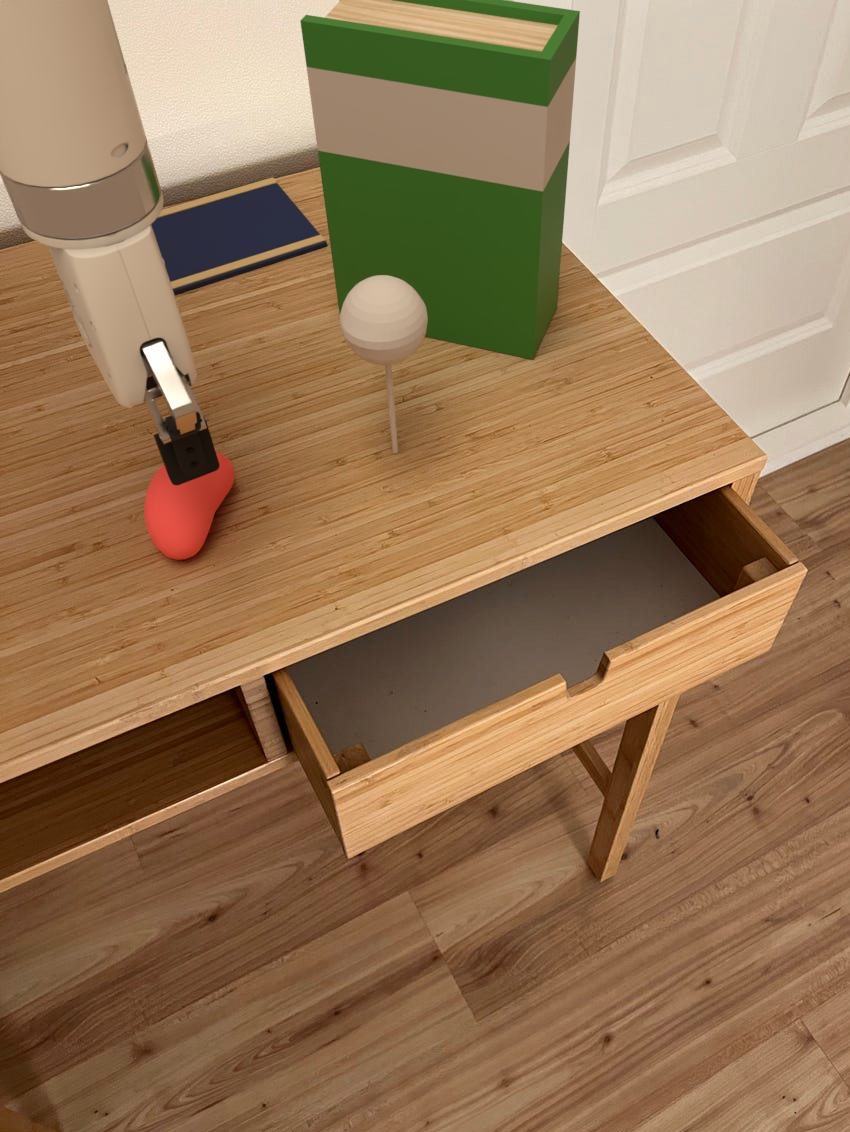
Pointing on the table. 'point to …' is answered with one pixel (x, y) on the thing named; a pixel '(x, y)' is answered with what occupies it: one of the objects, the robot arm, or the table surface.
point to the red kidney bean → (185, 509)
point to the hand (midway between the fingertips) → (169, 430)
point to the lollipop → (384, 327)
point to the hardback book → (448, 156)
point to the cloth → (231, 234)
